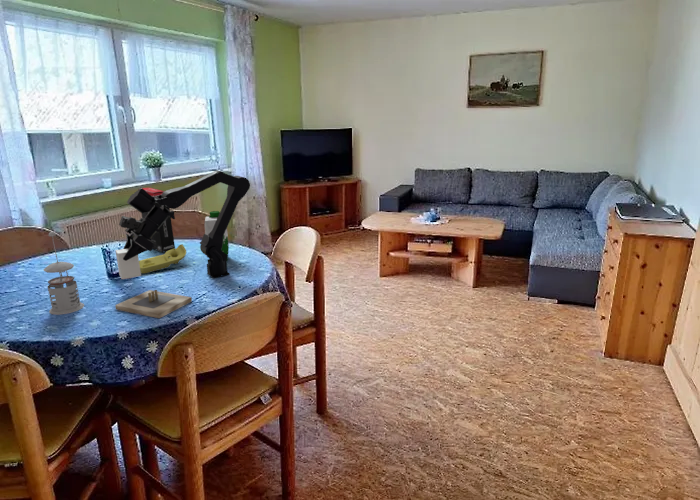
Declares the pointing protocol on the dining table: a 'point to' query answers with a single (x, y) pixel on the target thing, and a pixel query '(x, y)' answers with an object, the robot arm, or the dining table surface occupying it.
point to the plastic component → (162, 260)
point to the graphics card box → (161, 227)
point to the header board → (153, 303)
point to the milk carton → (209, 226)
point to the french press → (62, 288)
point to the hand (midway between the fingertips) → (122, 258)
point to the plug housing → (127, 265)
